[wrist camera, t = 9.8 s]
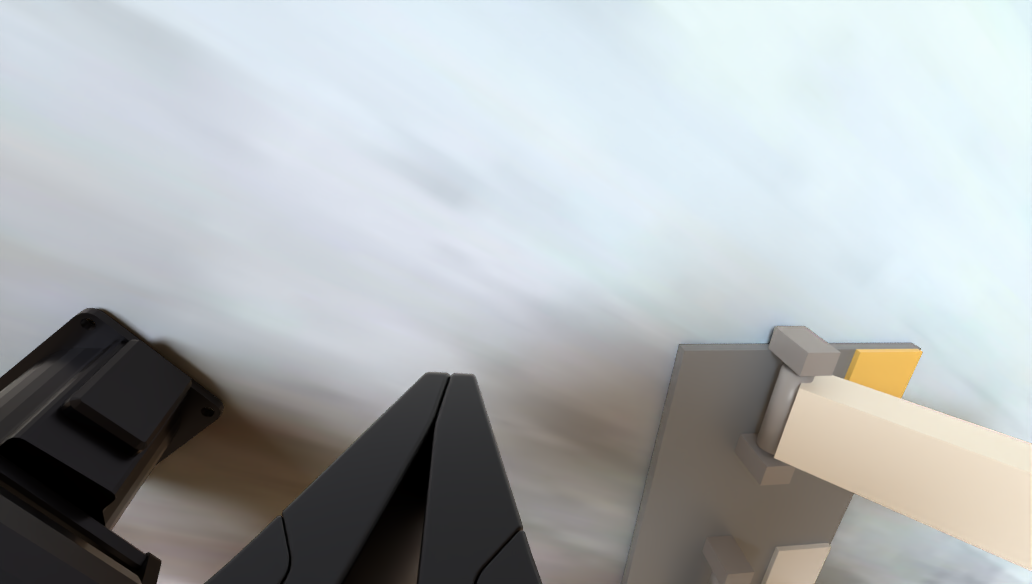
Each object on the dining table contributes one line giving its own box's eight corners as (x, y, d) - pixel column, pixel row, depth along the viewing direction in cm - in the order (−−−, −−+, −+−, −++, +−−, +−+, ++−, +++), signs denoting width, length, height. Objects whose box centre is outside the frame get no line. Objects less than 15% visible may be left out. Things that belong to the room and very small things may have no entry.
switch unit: (613, 618, 33) (629, 668, 30) (685, 320, 24) (716, 353, 22) (794, 600, 35) (824, 645, 33) (921, 320, 26) (977, 351, 24)
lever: (750, 451, 25) (1087, 600, 19) (776, 375, 23) (1157, 513, 17) (761, 427, 27) (1072, 556, 21) (786, 355, 25) (1134, 473, 19)
